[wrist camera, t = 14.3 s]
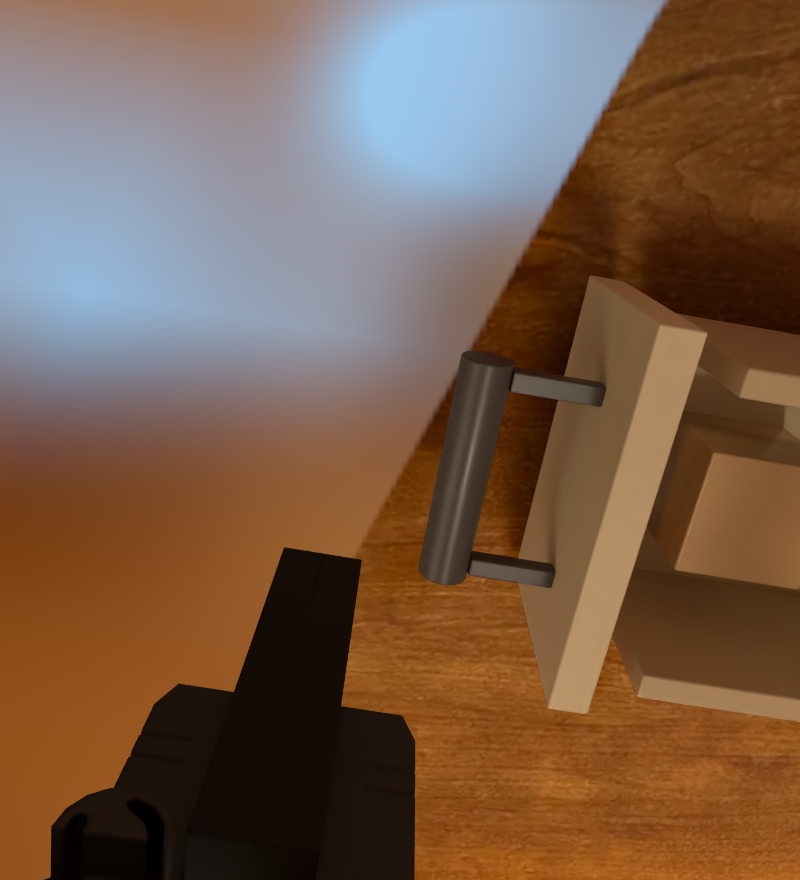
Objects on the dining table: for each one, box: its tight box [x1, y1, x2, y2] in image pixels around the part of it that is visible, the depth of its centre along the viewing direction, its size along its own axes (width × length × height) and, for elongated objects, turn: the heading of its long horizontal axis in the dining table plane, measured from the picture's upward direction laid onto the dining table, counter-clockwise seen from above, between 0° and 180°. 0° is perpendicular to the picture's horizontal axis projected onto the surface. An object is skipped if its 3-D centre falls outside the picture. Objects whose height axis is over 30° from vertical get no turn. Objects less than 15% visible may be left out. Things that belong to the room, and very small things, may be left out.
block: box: [647, 411, 800, 590], centre depth 25 cm, size 4×4×4 cm
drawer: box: [419, 276, 800, 722], centre depth 24 cm, size 19×11×8 cm, turn 80°
